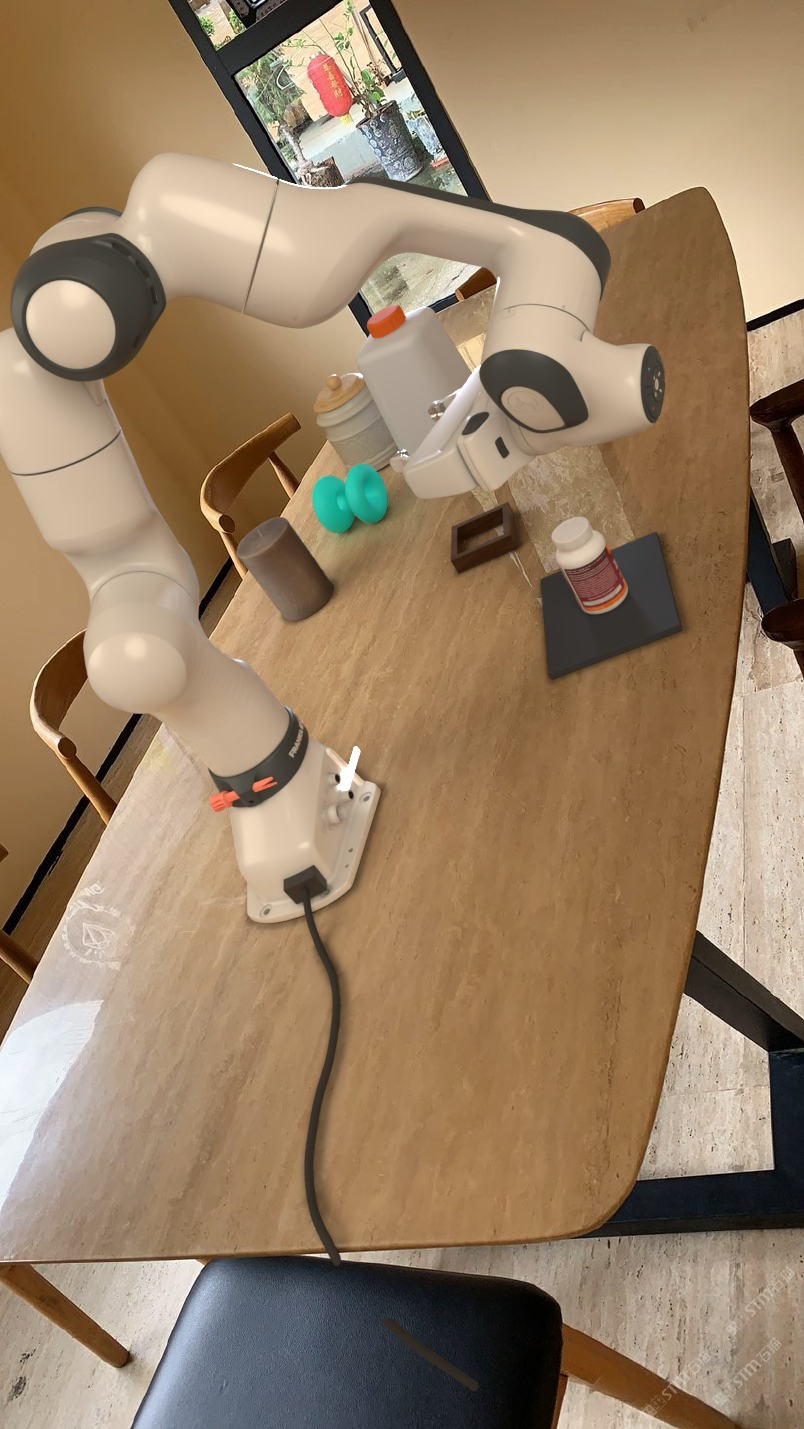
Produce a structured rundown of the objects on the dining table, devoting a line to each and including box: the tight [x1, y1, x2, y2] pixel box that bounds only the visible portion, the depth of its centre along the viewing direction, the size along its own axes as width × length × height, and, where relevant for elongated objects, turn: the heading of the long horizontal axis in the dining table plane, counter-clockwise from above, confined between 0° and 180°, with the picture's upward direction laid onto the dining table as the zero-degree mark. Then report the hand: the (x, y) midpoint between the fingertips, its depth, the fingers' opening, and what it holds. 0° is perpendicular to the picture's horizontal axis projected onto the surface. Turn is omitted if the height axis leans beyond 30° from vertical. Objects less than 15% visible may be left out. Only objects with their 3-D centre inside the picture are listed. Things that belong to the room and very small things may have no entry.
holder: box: [450, 501, 518, 575], centre depth 152 cm, size 9×9×2 cm
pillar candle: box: [235, 516, 335, 622], centre depth 164 cm, size 10×10×15 cm
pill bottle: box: [550, 516, 628, 614], centre depth 124 cm, size 6×6×11 cm
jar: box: [313, 372, 400, 472], centre depth 191 cm, size 13×13×18 cm
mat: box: [539, 531, 684, 680], centre depth 127 cm, size 20×16×1 cm
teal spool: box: [311, 464, 389, 534], centre depth 176 cm, size 10×10×10 cm
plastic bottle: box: [355, 303, 473, 456], centre depth 168 cm, size 15×15×28 cm
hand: (414, 437), depth 116 cm, fingers open, 8 cm apart
